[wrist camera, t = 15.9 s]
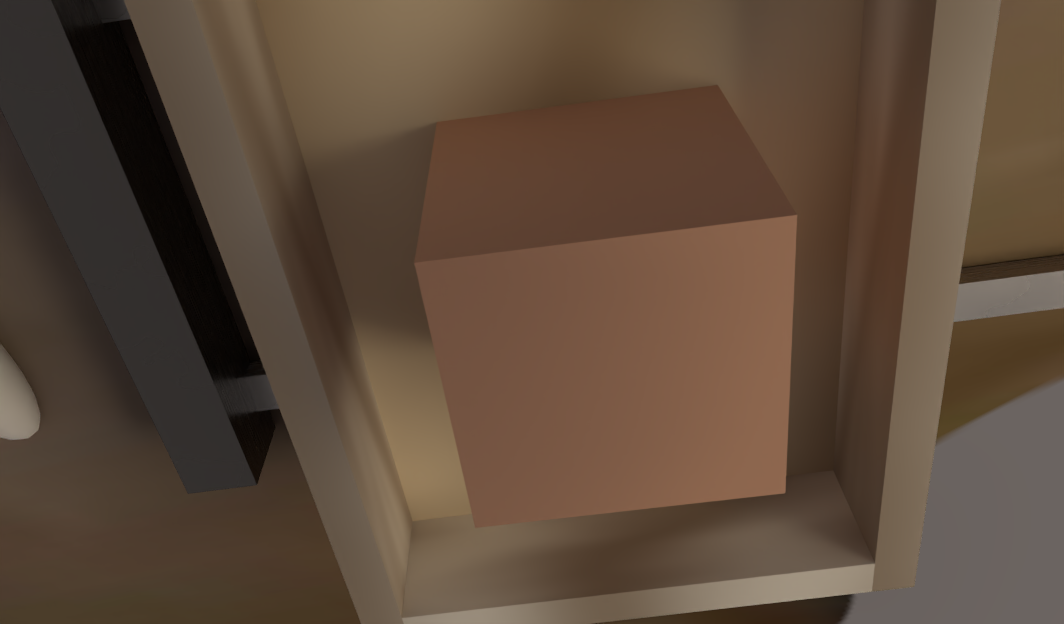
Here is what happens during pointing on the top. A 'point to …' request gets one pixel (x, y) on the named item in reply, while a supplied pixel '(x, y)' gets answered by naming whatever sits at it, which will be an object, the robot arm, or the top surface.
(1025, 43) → the top surface
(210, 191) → the beige open rectangular box
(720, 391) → the block
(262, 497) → the top surface
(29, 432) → the decorative figure
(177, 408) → the framed panel
